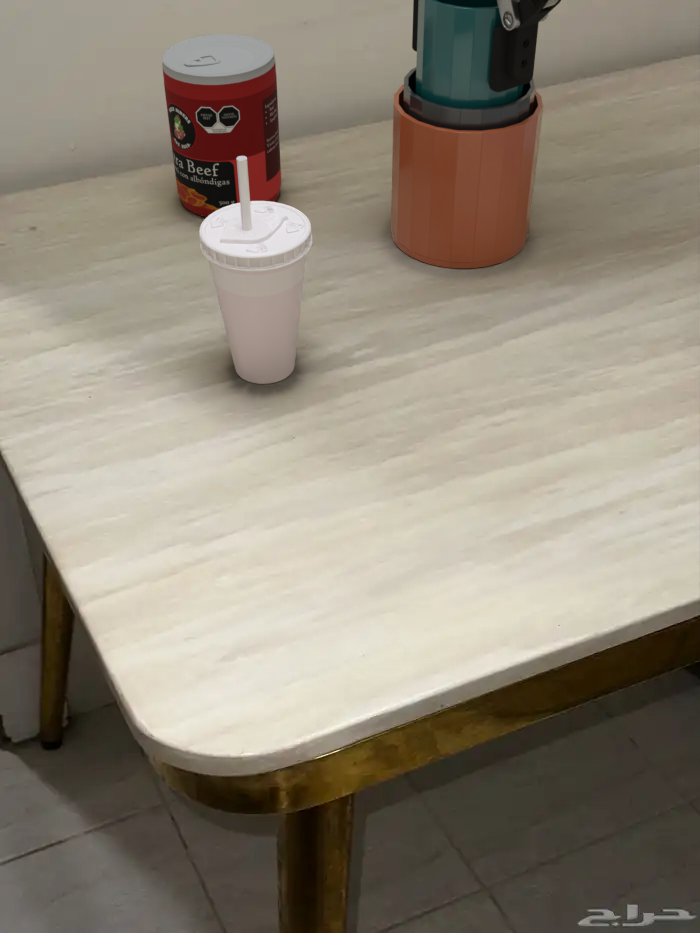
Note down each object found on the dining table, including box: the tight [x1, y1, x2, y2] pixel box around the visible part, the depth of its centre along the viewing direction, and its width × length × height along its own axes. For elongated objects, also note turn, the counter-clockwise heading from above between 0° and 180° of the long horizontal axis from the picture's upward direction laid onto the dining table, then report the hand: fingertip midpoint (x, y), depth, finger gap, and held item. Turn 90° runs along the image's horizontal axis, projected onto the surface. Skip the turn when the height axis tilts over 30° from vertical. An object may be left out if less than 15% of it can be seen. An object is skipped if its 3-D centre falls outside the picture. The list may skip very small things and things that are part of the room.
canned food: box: [161, 33, 282, 218], centre depth 81 cm, size 8×8×11 cm
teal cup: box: [415, 0, 523, 108], centre depth 72 cm, size 7×7×8 cm
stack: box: [390, 83, 544, 269], centre depth 77 cm, size 10×10×10 cm
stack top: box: [403, 66, 536, 131], centre depth 77 cm, size 9×9×11 cm
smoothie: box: [198, 156, 313, 385], centre depth 64 cm, size 6×6×14 cm
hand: (470, 64), depth 72 cm, fingers closed on teal cup, 7 cm apart
